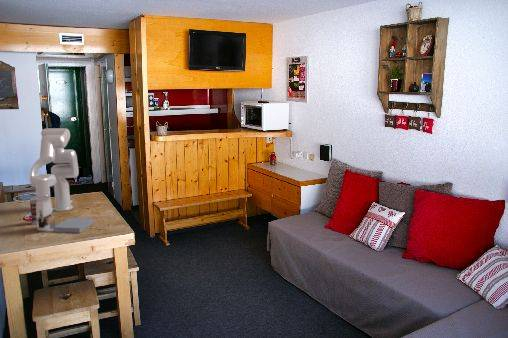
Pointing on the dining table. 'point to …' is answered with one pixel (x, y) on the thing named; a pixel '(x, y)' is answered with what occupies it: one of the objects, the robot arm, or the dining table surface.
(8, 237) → the dining table surface
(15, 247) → the dining table surface
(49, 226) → the block
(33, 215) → the supplement box
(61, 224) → the stand
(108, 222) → the dining table surface
